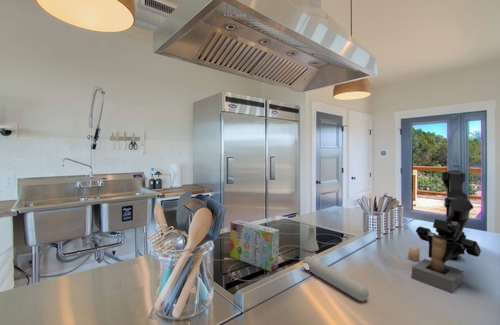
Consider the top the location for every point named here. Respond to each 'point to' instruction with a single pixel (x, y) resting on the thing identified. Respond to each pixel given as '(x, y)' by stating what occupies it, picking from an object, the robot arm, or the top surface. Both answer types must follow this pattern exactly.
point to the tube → (337, 279)
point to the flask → (311, 241)
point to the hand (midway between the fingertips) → (436, 259)
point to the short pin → (413, 253)
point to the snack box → (254, 244)
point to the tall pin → (438, 254)
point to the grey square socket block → (437, 276)
